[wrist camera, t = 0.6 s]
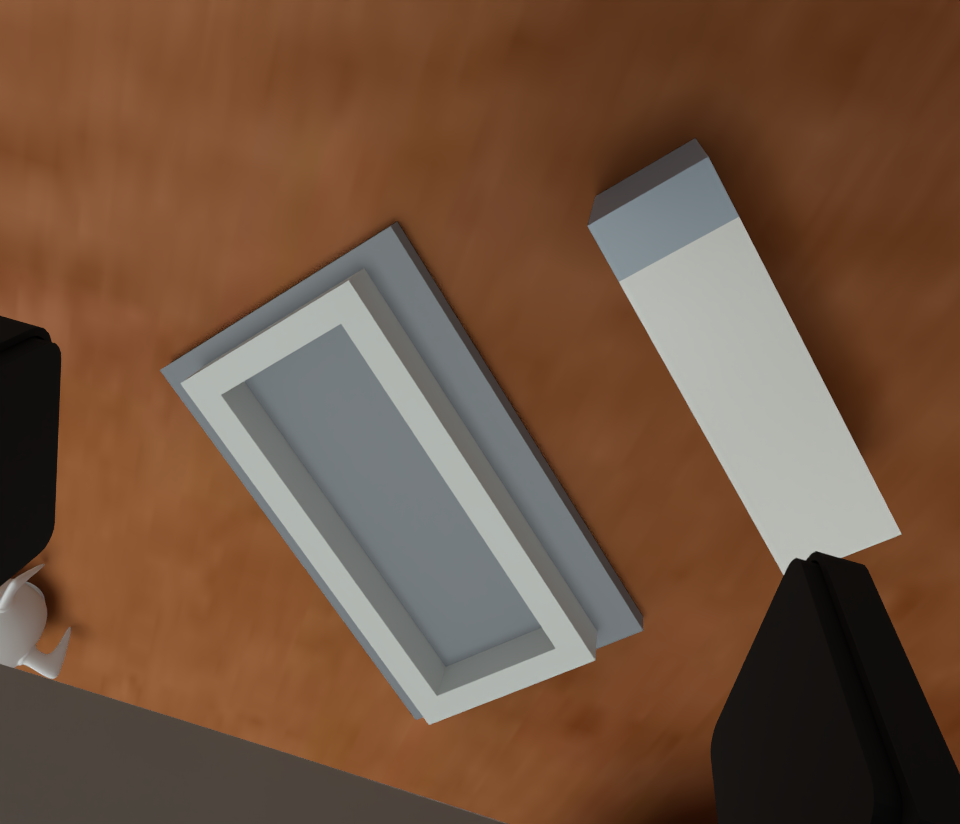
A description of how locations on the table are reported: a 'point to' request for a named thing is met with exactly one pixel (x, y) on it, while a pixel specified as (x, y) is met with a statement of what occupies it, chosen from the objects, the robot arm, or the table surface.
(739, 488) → the butter block
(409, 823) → the robot arm
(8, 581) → the rocket toy
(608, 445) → the table surface
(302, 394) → the tray
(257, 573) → the table surface
